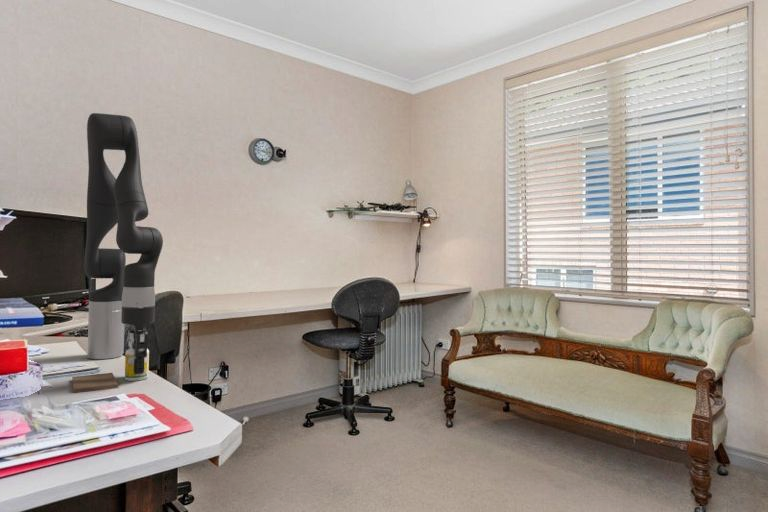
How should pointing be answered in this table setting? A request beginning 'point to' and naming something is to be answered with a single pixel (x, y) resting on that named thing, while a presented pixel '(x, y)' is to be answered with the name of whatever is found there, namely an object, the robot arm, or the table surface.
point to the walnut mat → (94, 382)
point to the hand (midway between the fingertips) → (136, 370)
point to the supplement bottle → (130, 366)
